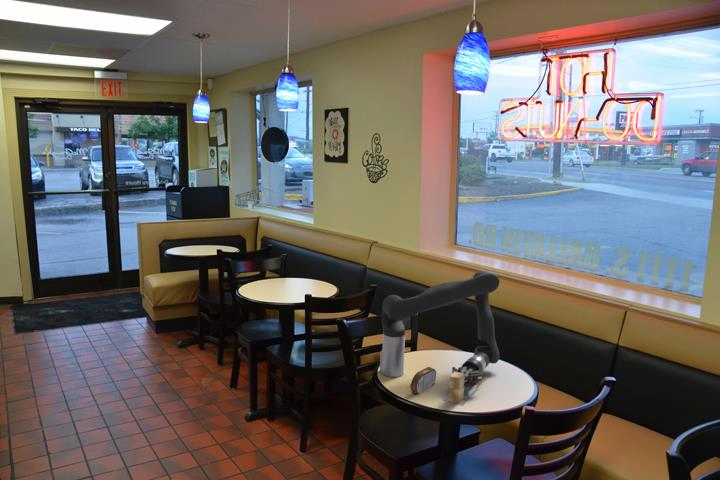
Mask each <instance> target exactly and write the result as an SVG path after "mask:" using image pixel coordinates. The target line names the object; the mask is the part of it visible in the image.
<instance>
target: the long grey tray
mask: <svg viewBox="0 0 720 480" xmlns="http://www.w3.org/2000/svg"><path fill="white" fill-rule="evenodd" d="M471 383H473V384H474V385H473V386H472V387H469V386H467V385H464V393H463V400H462V401H461V402H460V403H459V404H457V403H453V402H450V401H448V399H449V393H448V394H447V395H446V396H445V397H444V398H443V399H442V401H443V402H448V403H452V404H454V405H458V406H462V407H463V406H464V405H465V404H466V403H467V402H468V401H469V400H470V399H471V398H472V396H473V395H474V394H475V393H476V392H477V391H478V390H479V389H478V388H479V387H480V386H481V385H482V381H475V382H471ZM464 384H466V382H464Z"/></svg>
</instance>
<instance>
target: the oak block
mask: <svg viewBox="0 0 720 480" xmlns="http://www.w3.org/2000/svg"><path fill="white" fill-rule="evenodd" d="M464 377H465V374H463V373H459V372H454V373H453V374H452V373H451V374H450V375H449V383H448V394H449V399H448V401H450V402H449V403H451V402H453V403H452V404H454V403H457V404H456V405H458V404H459V403H460V402H461V401H462V400H463V393H464V386H465V383H464Z"/></svg>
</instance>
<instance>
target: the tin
mask: <svg viewBox="0 0 720 480" xmlns="http://www.w3.org/2000/svg"><path fill="white" fill-rule="evenodd" d="M436 378H437V371H436V369H435V368H433V367H430V366H427V367H426V368H423V369H420V370H419V371H417V372H416V373H415V374H414V375H413V377H412V379H411V384H410V391H411V392H412V393H414V394H417V395H420V394H421V393H423V392H425V391H427V390H428V389H430V388H431V387H433V386H434V384H435V382H436V380H437V379H436Z"/></svg>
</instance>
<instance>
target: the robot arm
mask: <svg viewBox="0 0 720 480" xmlns="http://www.w3.org/2000/svg"><path fill="white" fill-rule="evenodd" d="M499 286H500V278H499V276H498V275H497V274H496V273H494V272H492V271H488V270H487V271H485V270H483V271H482V270H479V271H477V272H475V273H474V274H473V276H472V278H469V279H463V280H455V281H454V280H453V281H448V282H443V283H439V284H435V285H432V286H431V287H429V288H427V289H425V290H424V291H423V292H421V293H420V294H417V295H416V296H411V297H407V298H402V297H401V296H399V295H396V294H391V295H390V294H389V295H388V296H387V297H385V298H384V299H383V302H382V307H381V326H382V331H383V332H382V349H381V350H380V354H379V355H380V357H379V359H380V360H379V373H380V374H382V375H384V376H386V377H391V378H397V377H398V378H399V377H402V376H404V370H405V369H404V368H405V366H404V365H405V348H406V347H405V346H406V344H405V343H406V327H405V325H404V324H405V323H404V320H405V319H408V318H410V317H412V316H413V317H414V316H415V315H417V314H419V313H423V312H427V311H430V310H434V309H437V308H441V307H446V306H449V305H451V304H454V303H456V302H460V301H462V300H465V299H467V298H471V297H474V301H475V307H476V315H477V317H476V318H477V339H478V340H479V341H482V342H485V343H486V344H487V345H488V346H486V345H480V346H476V347H475V350H474V354H473V355H472V356H470V357H469V358H467V360H465V361H464V362H463V363H462V365H461V366H460V367H458V368H456V367H454V366H453V367H451V374H453V373H454V372H459V373H463V374H465V377H464V382H465V383H466V382H468V383H472V382H475V381H481V382H482V381H483V372H484V371H485V369H487V367H488V366H489V364H496V363H499V360H500V351H499V350H500V349H499V347H498V344H497V341H496V337H495V336H496V335H495V320H494V315H493V313H492V309H491V306H490V298H489V296H490V295H489V294H490V293H493V292H496V291H497V289H498V288H499Z"/></svg>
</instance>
